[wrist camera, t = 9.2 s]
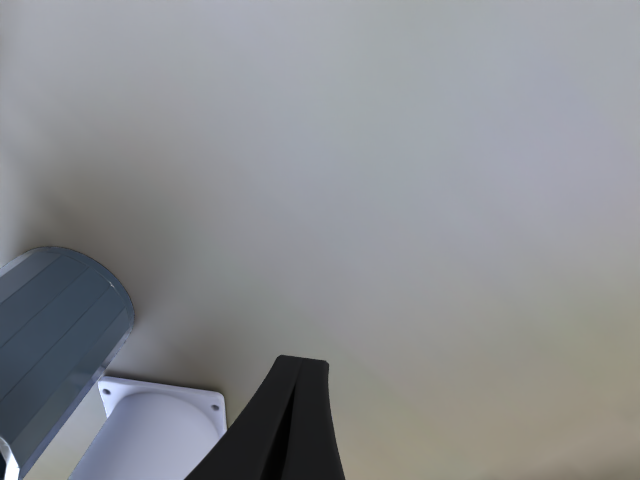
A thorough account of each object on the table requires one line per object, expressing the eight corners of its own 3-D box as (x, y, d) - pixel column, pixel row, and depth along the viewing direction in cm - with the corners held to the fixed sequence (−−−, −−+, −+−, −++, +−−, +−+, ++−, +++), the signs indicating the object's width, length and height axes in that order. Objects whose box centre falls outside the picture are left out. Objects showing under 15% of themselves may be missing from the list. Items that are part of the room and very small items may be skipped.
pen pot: (143, 356, 26) (40, 509, 18) (31, 341, 27) (-114, 483, 19) (122, 254, 22) (-17, 390, 15) (-6, 239, 23) (-205, 362, 15)
